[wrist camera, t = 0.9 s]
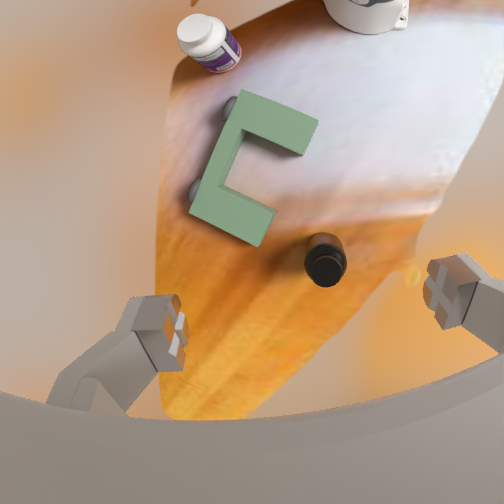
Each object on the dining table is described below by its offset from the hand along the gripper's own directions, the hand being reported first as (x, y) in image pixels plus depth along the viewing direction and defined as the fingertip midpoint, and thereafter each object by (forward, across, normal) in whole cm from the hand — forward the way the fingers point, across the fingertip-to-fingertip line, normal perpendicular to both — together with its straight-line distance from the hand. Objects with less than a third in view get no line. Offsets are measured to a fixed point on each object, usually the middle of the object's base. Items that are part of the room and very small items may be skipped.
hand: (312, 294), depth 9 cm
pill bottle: (+52, +4, -15) cm, 55 cm away
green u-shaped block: (+45, +1, +7) cm, 46 cm away
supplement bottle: (+39, -10, +22) cm, 46 cm away
